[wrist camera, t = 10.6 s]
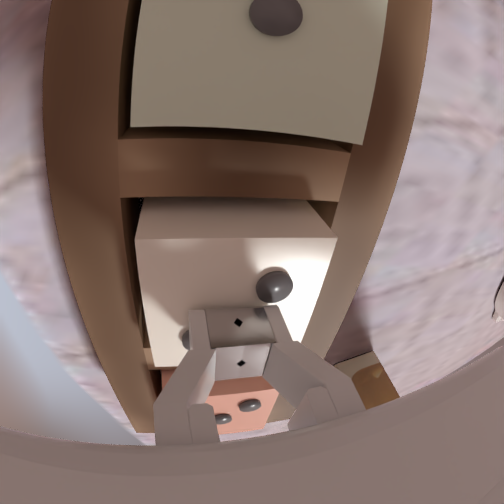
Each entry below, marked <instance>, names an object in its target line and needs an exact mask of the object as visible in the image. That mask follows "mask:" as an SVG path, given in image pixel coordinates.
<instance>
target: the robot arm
mask: <svg viewBox="0 0 504 504" xmlns="http://www.w3.org/2000/svg"><path fill="white" fill-rule="evenodd" d="M188 316H189V341H190V350H189V351H187V353H186V354H185V356H184V357H183V359H182V361H181V362H180V364H179V365H178V367H177V368H176V370H175V371H174V373H173V374H172V376H171V378H170V379H169V381H168V382H167V384H166V385H165V387H164V388H163V390H162V392H161V393H160V395H159V396H158V398H157V399H156V401H155V402H154V404H153V411H154V428H155V442H156V446H135V445H112V444H111V445H110V444H98V443H88V442H78V441H71V440H64V439H57V438H51V437H45V436H40V435H35V434H30V433H25V432H21V431H17V430H13V429H9V428H5V427H1V426H0V504H504V346H500V347H498V348H497V349H495V350H494V351H492V352H490V353H489V354H487V355H485V356H484V357H482V358H480V359H478V360H477V361H475V362H473V363H472V364H470V365H468V366H466V367H464V368H462V369H460V370H458V371H457V372H455V373H453V374H451V375H449V376H447V377H445V378H443V379H441V380H439V381H436V382H434V383H432V384H430V385H428V386H426V387H423V388H421V389H419V390H417V391H414V392H412V393H409V394H407V395H405V396H402V397H400V398H397V399H395V400H392V401H389V402H387V403H384V404H381V405H379V406H376V407H373V408H370V409H367V410H366V408H365V406H364V404H363V402H362V400H361V398H360V396H359V394H358V392H357V390H356V388H355V386H354V384H353V382H352V380H351V378H350V377H348V376H347V375H345V374H344V373H342V372H341V371H340V370H338V369H337V368H335V367H334V366H332V365H331V364H329V363H328V362H327V361H325V360H324V359H322V358H321V357H320V356H318V355H317V354H315V353H314V352H312V351H311V350H310V349H308V348H307V347H305V346H304V345H303V344H301V343H300V342H299V341H293V340H292V337H291V335H290V332H289V330H288V328H287V325H286V323H285V320H284V318H283V316H282V313H281V311H280V308H279V306H277V305H267V306H255V307H242V308H230V309H204V310H189V311H188ZM492 319H493V320H494V321H495V322H496V323H497V322H499V321H500V320H503V321H504V282H503V284H502V286H501V288H500V290H499V292H498V295H497V297H496V301H495V312H494V315H493V317H492ZM257 376H263V378H264V379H265V380H266V381H267V382H268V383H269V384H270V385H271V386H272V387H273V388H274V389H275V390H276V391H277V392H278V393H280V394H281V395H282V396H283V397H284V398H285V399H286V400H287V401H288V402H289V403H290V404H291V405H292V406H293V407H294V408H295V409H296V411H295V413H294V414H293V416H292V418H291V419H290V421H289V423H288V428H289V431H286V432H281V433H276V434H271V435H265V436H260V437H253V438H247V439H240V440H232V441H224V442H220V439H219V434H218V429H217V425H216V420H215V415H214V409H213V406H211V405H209V404H208V403H205V402H206V400H207V397H208V395H209V393H210V391H211V389H212V387H213V385H214V382H215V381H219V380H228V379H236V378H246V377H257Z"/></svg>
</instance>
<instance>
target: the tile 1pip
mask: <svg viewBox="0 0 504 504" xmlns="http://www.w3.org/2000/svg"><path fill="white" fill-rule="evenodd" d="M387 4H388V0H142V3H141V9H140V15H139V22H138V29H137V37H136V46H135V55H134V66H133V79H132V95H131V122H130V127H152V126H189V127H218V128H236V129H249V130H261V131H271V132H280V133H289V134H297V135H304V136H312V137H318V138H325V139H331V140H337V141H343V142H348V143H353V144H359V145H362V144H363V140H364V135H365V131H366V127H367V122H368V118H369V113H370V108H371V104H372V99H373V94H374V89H375V83H376V78H377V73H378V67H379V61H380V55H381V49H382V42H383V36H384V28H385V21H386V13H387Z"/></svg>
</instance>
